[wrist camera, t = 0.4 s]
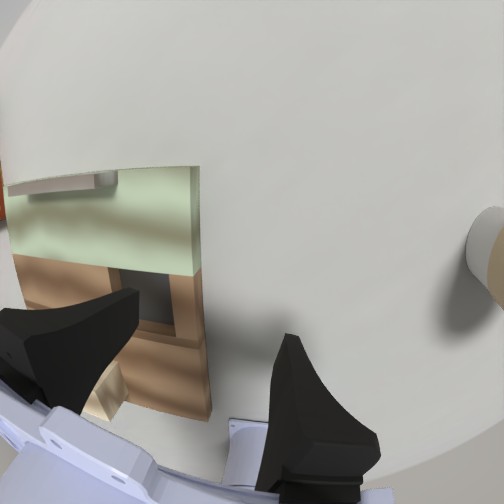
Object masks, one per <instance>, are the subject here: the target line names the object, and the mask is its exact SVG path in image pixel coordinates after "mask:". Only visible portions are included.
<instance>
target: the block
mask: <svg viewBox="0 0 504 504" xmlns="http://www.w3.org/2000/svg"><path fill="white" fill-rule="evenodd" d="M128 393H129V392H128V389H127V386H126V384H125V381H124V378H123V375H122V372H121V369H120V366H119V363H118V362H117V361H114V360H113V361H112V362H111V363H110V364H109V365H108V367H107V368H106V369H105V371H104V372H103V374H102V375H101V377H100V378H99V380H98V382H97V383H96V385H95V387H94V389H93V390H92V392H91V394H90V396H89V398H88V400H87V402H86V404H85V406H84V408H83V410H82V411H84V412H87V413H89V414H91V415H93V416H96V417H98V418H101V419H103V420H106V421H108V422H111V420H112V419H113V417H114V415H115V414H116V412H117V411H118V409H119V407H120V406H121V404H122V403H123V401H124V400H125V398H126V396H127V395H128Z"/></svg>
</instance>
